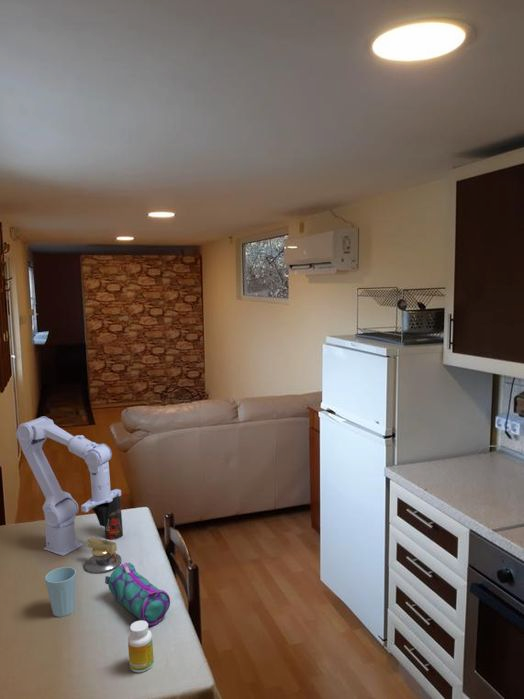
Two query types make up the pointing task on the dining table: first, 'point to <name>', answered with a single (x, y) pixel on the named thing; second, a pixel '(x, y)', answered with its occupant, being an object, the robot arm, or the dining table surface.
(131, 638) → the supplement bottle
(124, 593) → the pencil case
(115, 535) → the deodorant
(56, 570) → the cup
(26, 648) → the dining table surface
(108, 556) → the post base
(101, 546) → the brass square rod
